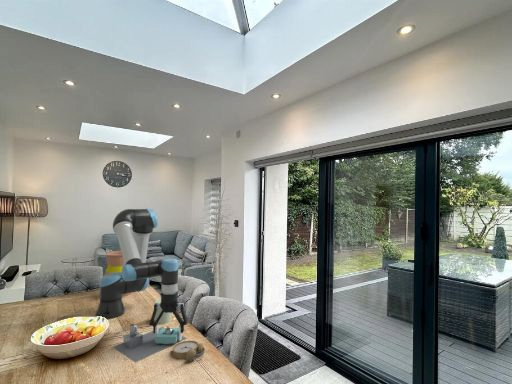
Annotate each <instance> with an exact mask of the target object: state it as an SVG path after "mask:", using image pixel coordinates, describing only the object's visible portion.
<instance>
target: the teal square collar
mask: <svg viewBox="0 0 512 384" xmlns="http://www.w3.org/2000/svg"><path fill="white" fill-rule="evenodd" d="M161 328H162V327H161ZM166 328H167V327H164V328H162V329H161V330H160V332H159V333H158V335H157V336H156V344H158V343H176V342H177V340H178V338H179V327H171V328H172V334H165V330H166ZM176 344H177V343H176Z"/></svg>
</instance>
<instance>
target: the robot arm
mask: <svg viewBox="0 0 512 384" xmlns="http://www.w3.org/2000/svg"><path fill="white" fill-rule="evenodd" d="M158 223H159V222H158V215H157V212H156V211H155V210H154V209H150V208H126V209H123V210H122V211H120V212H119V213H117V215H116V216H115V217H114V219H113V222H112V230H113V232H114V234H116V237H117V239H118V243H119V248H120V251H121V252H122V255H123V259H124V263H125V265H124V266H123V267H122V273H121V272H117V273H111V274H108V275H105V274H104V275H105V276H104V275H103V276H102V277H101V279H100V285H99V287H100V289H99V303H98V306H97V310H96V311H95V317H96V316H102V317H105V318H107V319H106V320H110V319H115V318H118V317H121V316H123V315H124V314H125V313H126V312H125V310H126V309H125V305H124V302H123V297H122V294H127V293H131V294H132V293H139V292H142V291H145V290H146V289H147V288H148V286H149V284H150V278H157V277H161V284H160V285H161V286H160V287H161V293H160V299H161V303H160V304H158V303H156V304H155V303H154V305H153V311H152V315H151V318H150V321H149V323H148V325H149V327H150V326H152V331H153V333H155V341H156V336H157V335H158V333H159V327H160V324H157V323H158V322H159V320H160V318H161V317H162V315H163V313H164V312H165V313H168V312H169V313H172V314H173V315H174V318H175V319H176V321H177V322H178V324H179V326H178V328H179V341H180V342H182V341H181V338H182V336H183V335H182V334H184V332H185V326H186V325H188V323H189V321H188V316H187V312H186V309H185V303H184V302H178V294H179V293H178V290H179V284H178V283H179V280H178V279H179V261H178V259H176V258H164V259H156V260H154V261H148V262H147V256H148V248H149V241H150V234H151V235H152V233H153V232H154V231H153V230H154V229H157V227H158ZM159 306H160V307H161V308H162V311H161V313H160V315H159V316H158V318H157V320H156V321H155V316H156V313H157V310H158V308H159ZM177 307H178V308H179V309H180V313H181V314H180V313H179V311H178V308H177Z"/></svg>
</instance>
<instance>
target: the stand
mask: <svg viewBox="0 0 512 384" xmlns="http://www.w3.org/2000/svg"><path fill="white" fill-rule="evenodd" d="M137 326H138V325H137V323H133V324H130V325H129V327H130V328H129V333H128V334H125V335H123V342H122V343H123V345H124V346H126V347H128V348H129V349H131V348H133V347H136V346H138V345H141V344H143V335H144V334H142V333H141V332H138V331H137V330H138V329H137Z"/></svg>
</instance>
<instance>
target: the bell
mask: <svg viewBox="0 0 512 384" xmlns="http://www.w3.org/2000/svg"><path fill="white" fill-rule="evenodd" d="M165 328H166V330H165V334H172V328H173V327H171V325H167V326H166V327H165ZM160 344H162V345H170V344H173V343H160Z"/></svg>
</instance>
